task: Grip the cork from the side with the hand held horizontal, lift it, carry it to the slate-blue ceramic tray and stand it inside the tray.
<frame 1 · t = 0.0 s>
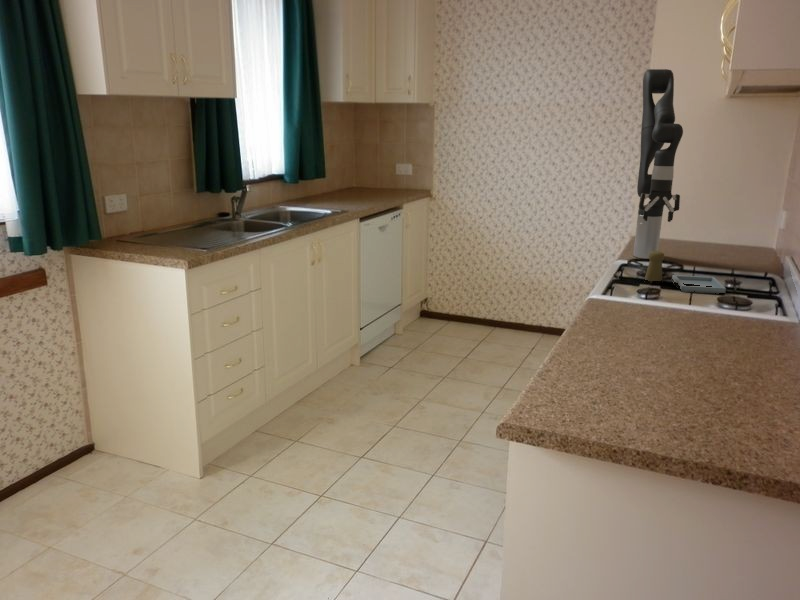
hand: (657, 221, 251), 17 cm above the countertop, tool pointing down, fingers open, 8 cm apart
cork: (653, 282, 234), on the countertop
tray: (697, 286, 228), on the countertop
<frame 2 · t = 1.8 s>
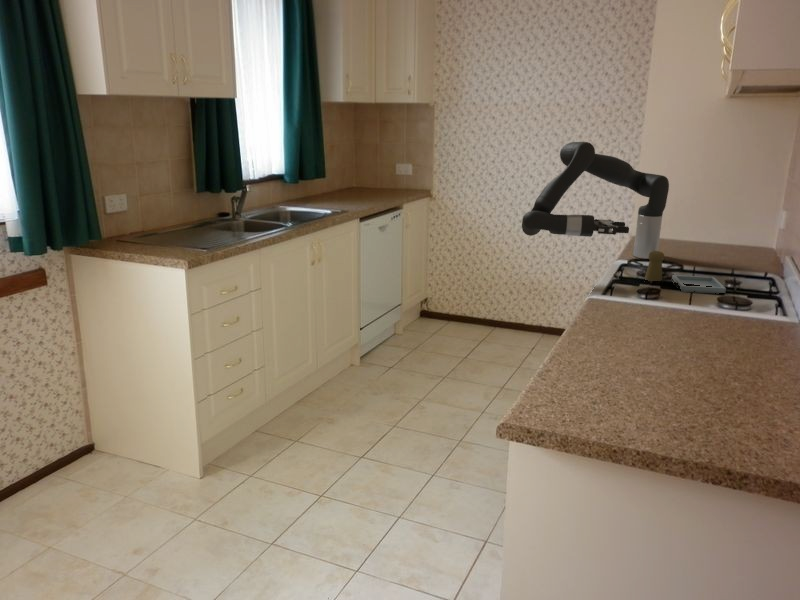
hand: (626, 227, 229), 19 cm above the countertop, tool horizontal, fingers open, 8 cm apart
nothing on the countertop moved.
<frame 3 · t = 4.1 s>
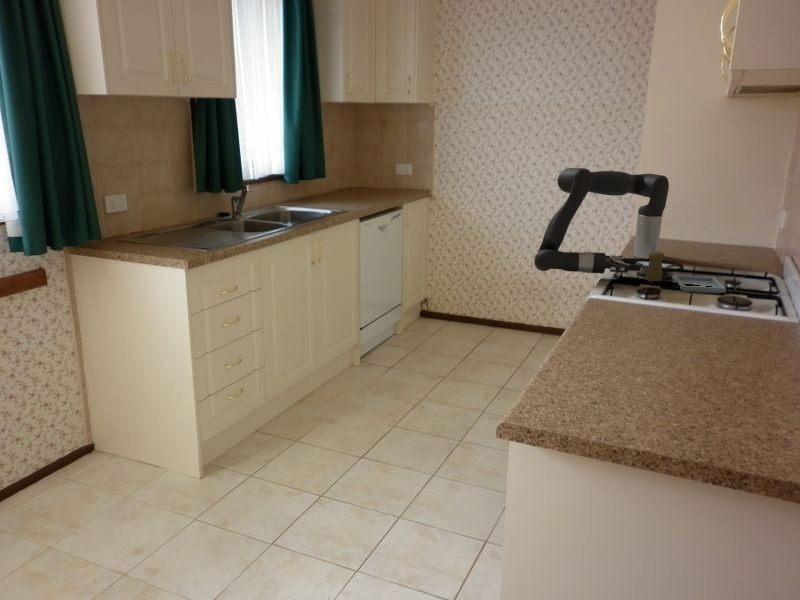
hand: (638, 264, 233), 6 cm above the countertop, tool horizontal, fingers open, 8 cm apart
nothing on the countertop moved.
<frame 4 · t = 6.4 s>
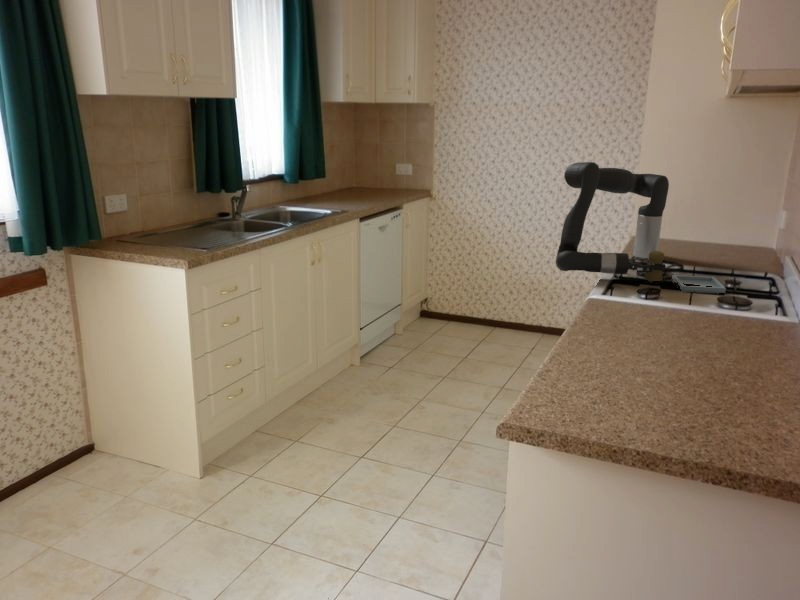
hand: (663, 265, 231), 6 cm above the countertop, tool horizontal, fingers closed on cork, 3 cm apart
cork: (653, 282, 234), on the countertop, touching gripper
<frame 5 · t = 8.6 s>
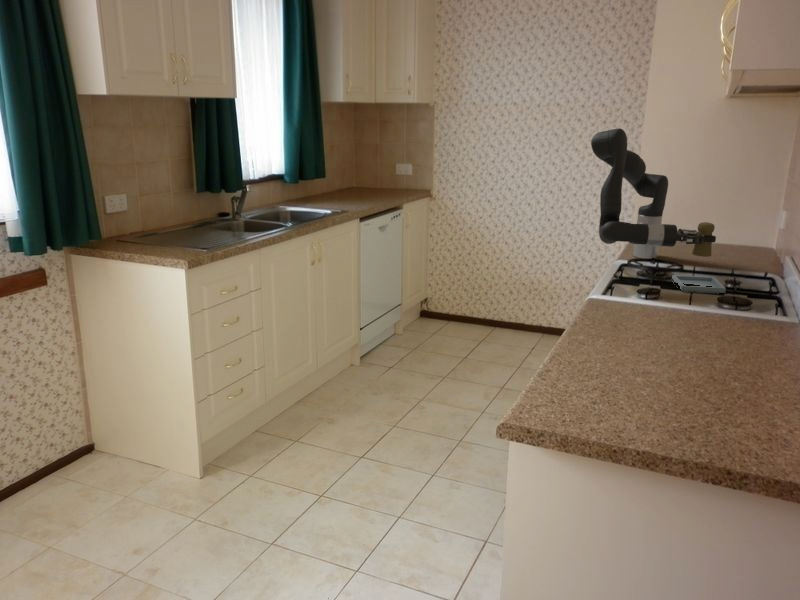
hand: (713, 237, 222), 18 cm above the countertop, tool horizontal, fingers closed on cork, 3 cm apart
cork: (701, 255, 224), point 11 cm above the countertop, touching gripper
when the fingers open (8 cm above the countertop, at t = 10.8 s): cork moves 3 cm, point 1 cm above the countertop.
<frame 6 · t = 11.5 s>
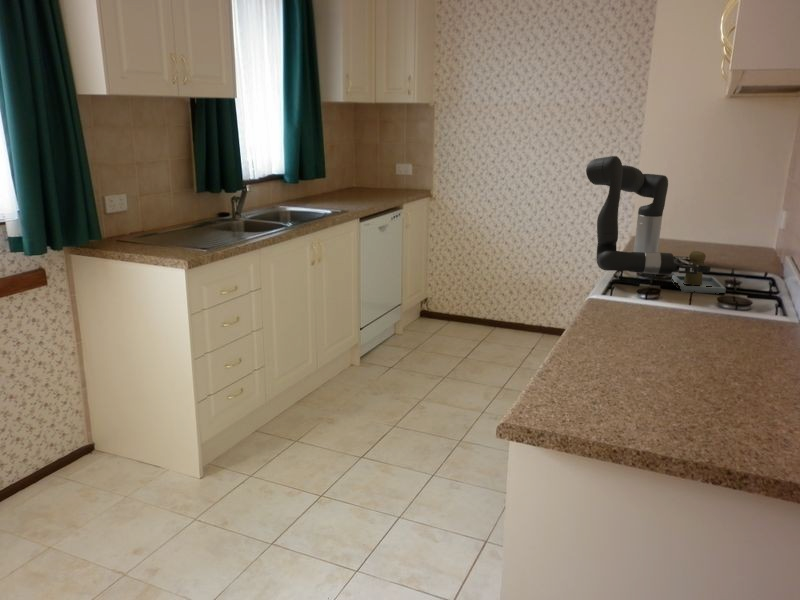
hand: (706, 266, 225), 8 cm above the countertop, tool horizontal, fingers open, 8 cm apart
cork: (692, 282, 230), point 1 cm above the countertop, touching gripper
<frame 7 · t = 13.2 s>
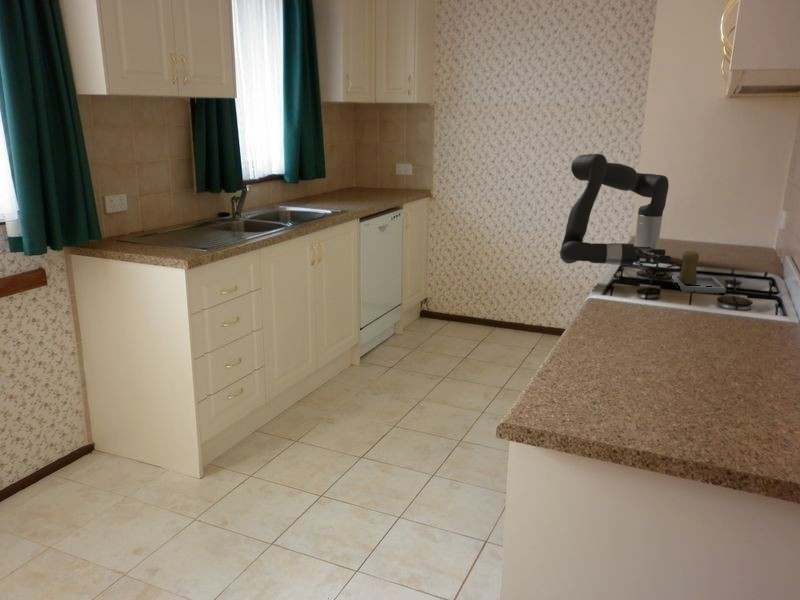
hand: (667, 255, 227), 11 cm above the countertop, tool horizontal, fingers open, 8 cm apart
cork: (687, 282, 230), point 1 cm above the countertop, touching tray
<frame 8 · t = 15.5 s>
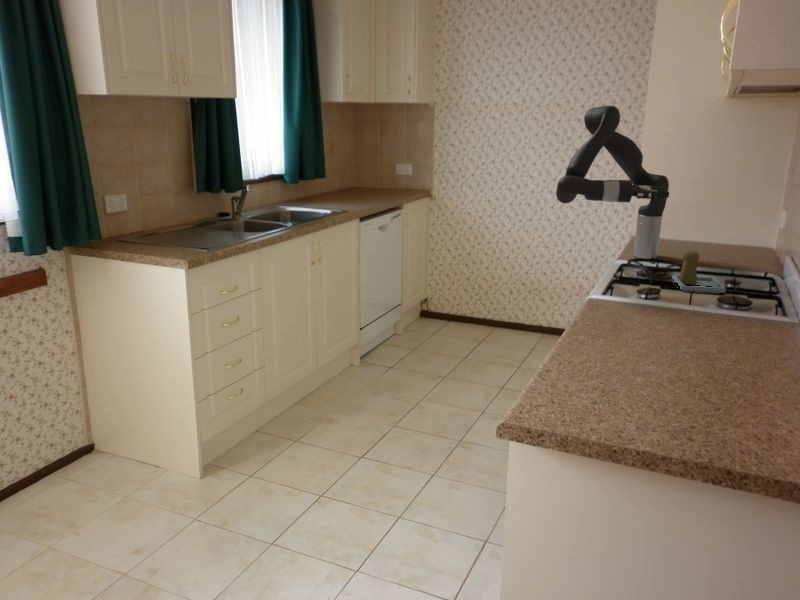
hand: (665, 192, 222), 32 cm above the countertop, tool horizontal, fingers open, 8 cm apart
nothing on the countertop moved.
at the end: cork inside the target area on the tray (3.8 cm from its centre), point 0.6 cm above the tray's base; cork tilted 0°; the gripper is holding nothing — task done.
